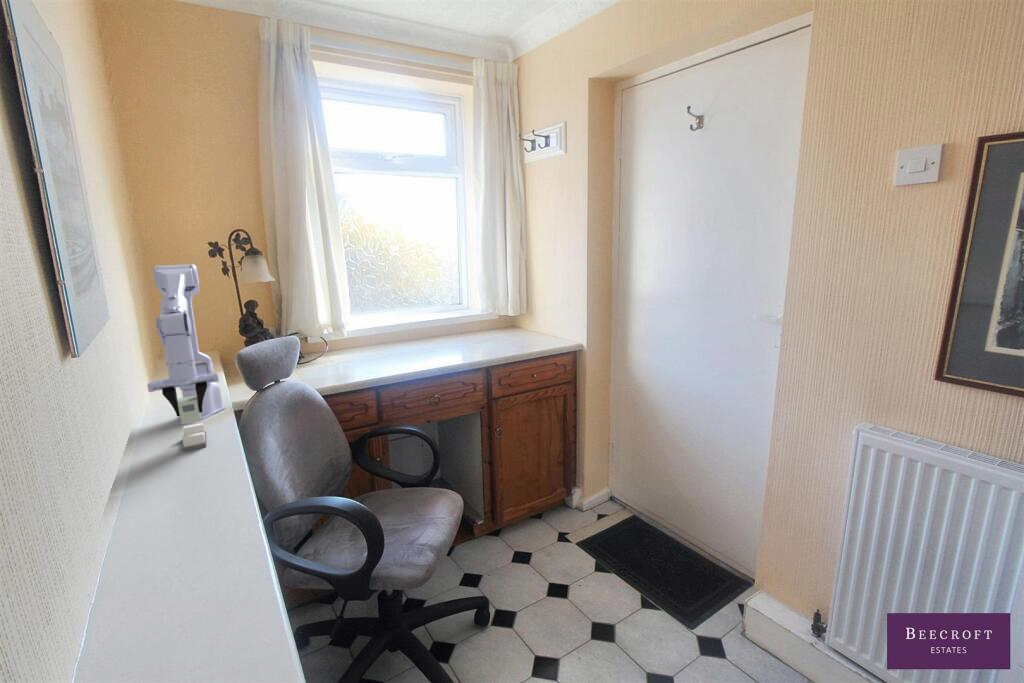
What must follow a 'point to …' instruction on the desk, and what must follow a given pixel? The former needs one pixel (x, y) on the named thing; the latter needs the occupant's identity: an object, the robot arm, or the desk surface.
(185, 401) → the sage module
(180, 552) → the desk surface
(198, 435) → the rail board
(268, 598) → the desk surface
